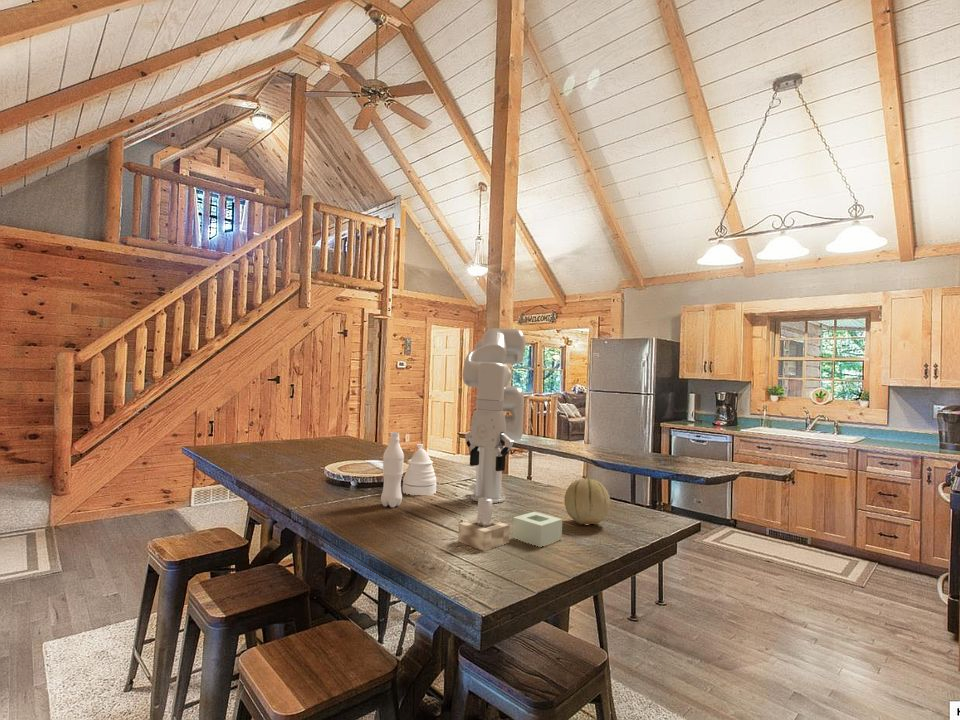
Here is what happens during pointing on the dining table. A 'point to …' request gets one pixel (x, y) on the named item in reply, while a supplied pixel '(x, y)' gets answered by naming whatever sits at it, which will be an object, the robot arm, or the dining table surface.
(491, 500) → the steel peg
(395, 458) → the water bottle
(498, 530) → the socket block
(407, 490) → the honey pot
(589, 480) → the cantaloupe
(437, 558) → the dining table surface
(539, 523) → the block
